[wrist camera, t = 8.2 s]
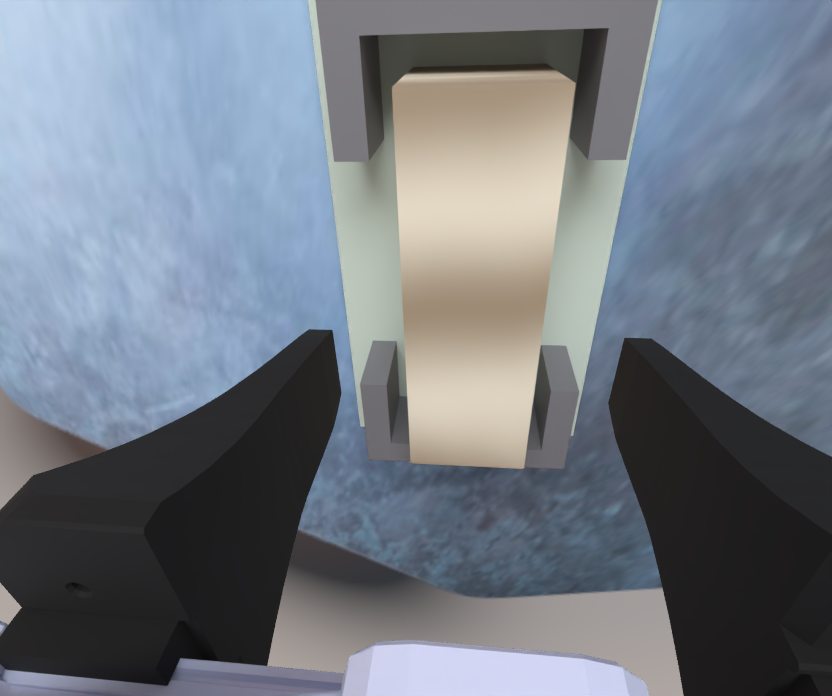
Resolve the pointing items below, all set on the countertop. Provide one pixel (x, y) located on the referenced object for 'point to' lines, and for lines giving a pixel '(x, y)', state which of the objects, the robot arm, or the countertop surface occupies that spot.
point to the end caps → (377, 188)
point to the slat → (476, 250)
